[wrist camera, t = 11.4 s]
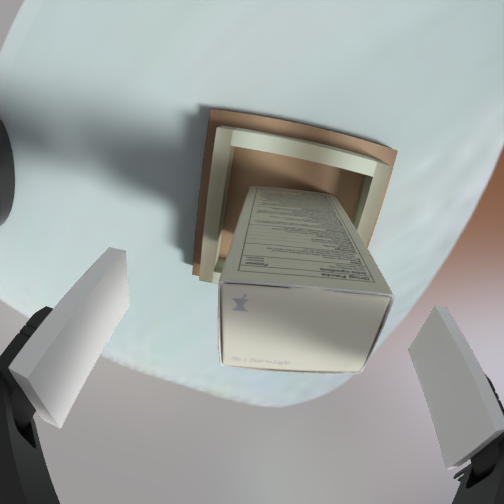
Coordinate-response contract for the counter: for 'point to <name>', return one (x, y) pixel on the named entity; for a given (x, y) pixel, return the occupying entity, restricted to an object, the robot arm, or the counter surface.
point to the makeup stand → (281, 176)
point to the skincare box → (299, 287)
